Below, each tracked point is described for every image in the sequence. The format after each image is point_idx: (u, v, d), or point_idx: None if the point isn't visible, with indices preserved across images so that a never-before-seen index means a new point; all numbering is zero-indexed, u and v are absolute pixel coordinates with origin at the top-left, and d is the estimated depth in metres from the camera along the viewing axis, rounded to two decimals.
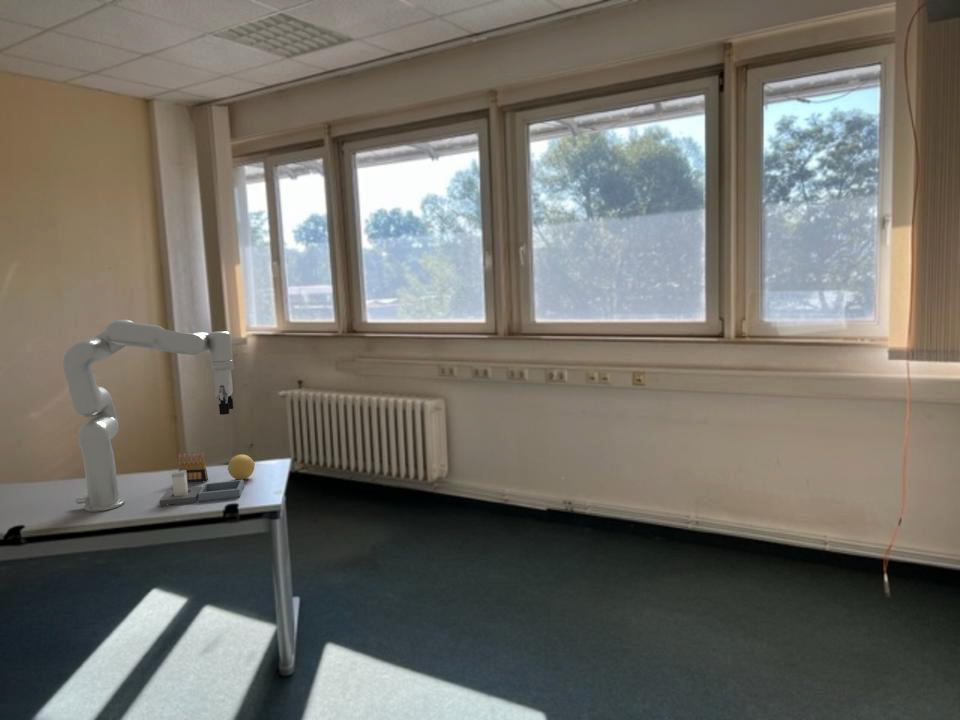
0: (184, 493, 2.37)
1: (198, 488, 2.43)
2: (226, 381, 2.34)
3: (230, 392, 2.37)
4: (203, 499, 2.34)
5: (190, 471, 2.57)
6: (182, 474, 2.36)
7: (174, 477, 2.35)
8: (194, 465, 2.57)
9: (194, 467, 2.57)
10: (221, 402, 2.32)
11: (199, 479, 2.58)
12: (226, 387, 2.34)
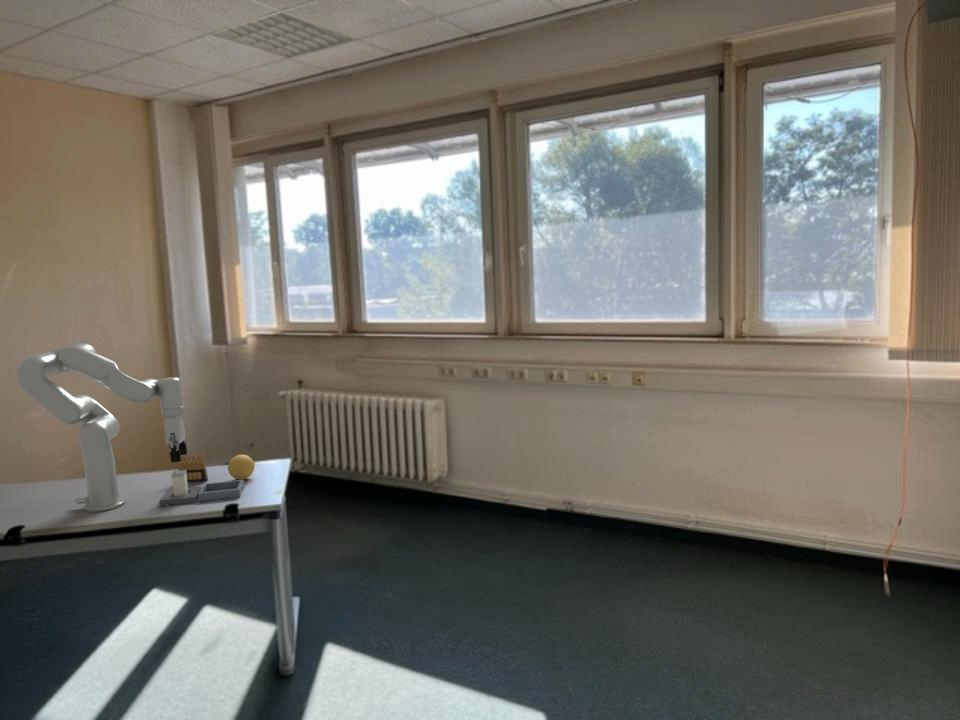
0: (184, 493, 2.37)
1: (198, 488, 2.43)
2: (176, 428, 2.31)
3: (182, 439, 2.34)
4: (203, 499, 2.34)
5: (190, 471, 2.57)
6: (182, 474, 2.36)
7: (174, 477, 2.35)
8: (194, 465, 2.57)
9: (194, 467, 2.57)
10: (172, 450, 2.30)
11: (199, 479, 2.58)
12: (177, 434, 2.31)
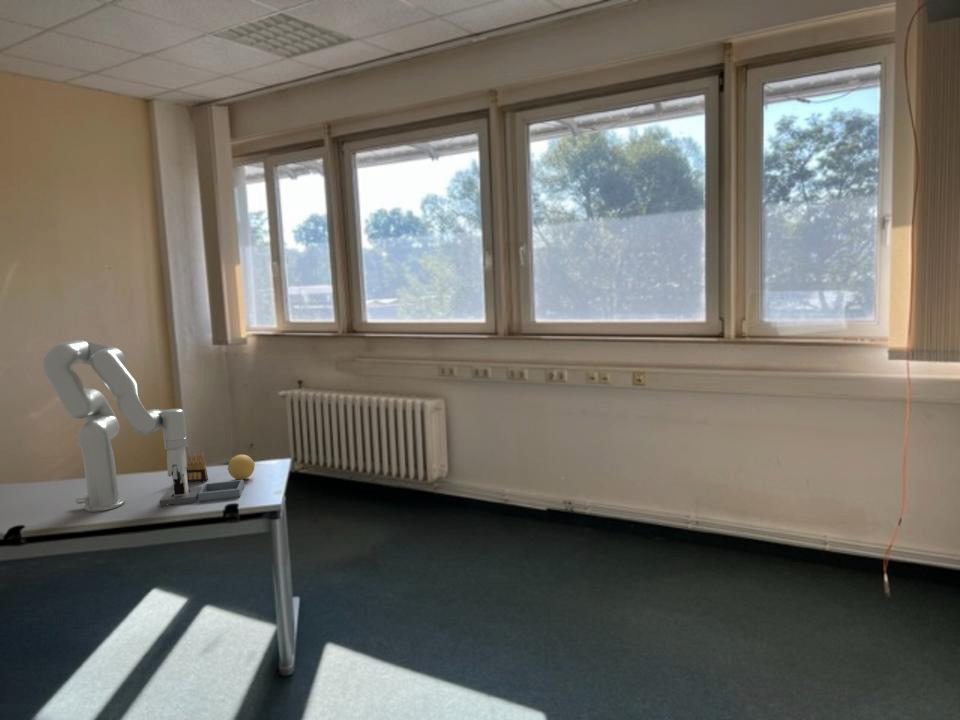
0: (184, 493, 2.37)
1: (198, 488, 2.43)
2: (178, 460, 2.32)
3: (183, 470, 2.36)
4: (203, 499, 2.34)
5: (190, 471, 2.57)
6: None
7: None
8: (194, 465, 2.57)
9: (194, 467, 2.57)
10: (176, 483, 2.34)
11: (199, 479, 2.58)
12: (179, 466, 2.32)
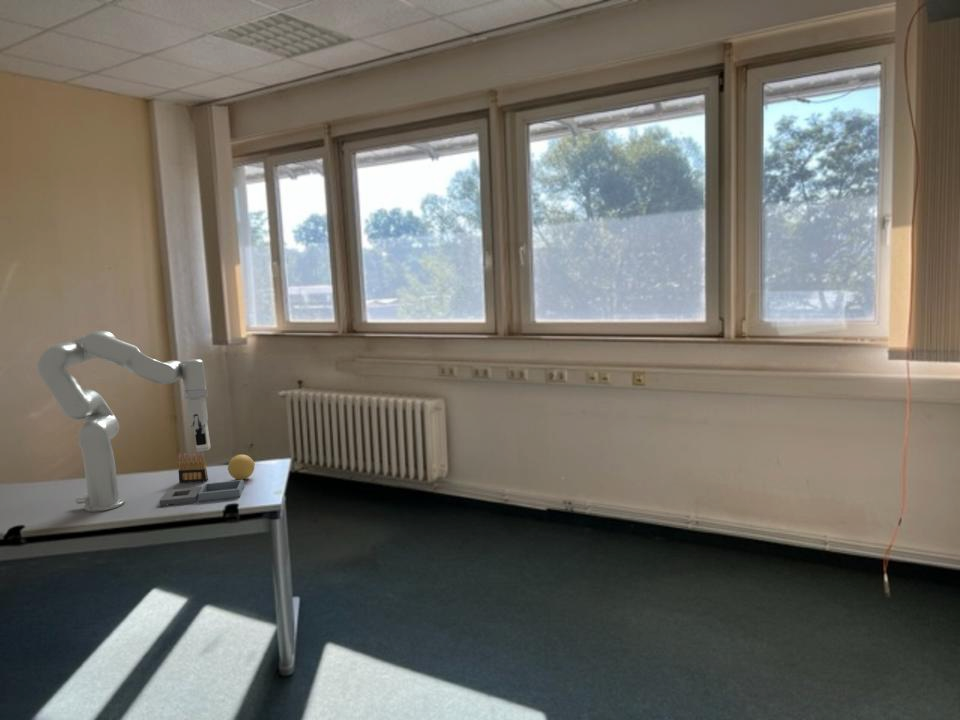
0: (206, 443, 2.36)
1: (198, 488, 2.43)
2: (199, 410, 2.32)
3: (205, 420, 2.35)
4: (203, 499, 2.34)
5: (190, 471, 2.57)
6: None
7: None
8: (194, 465, 2.57)
9: (194, 467, 2.57)
10: (197, 433, 2.33)
11: (199, 479, 2.58)
12: (200, 416, 2.32)
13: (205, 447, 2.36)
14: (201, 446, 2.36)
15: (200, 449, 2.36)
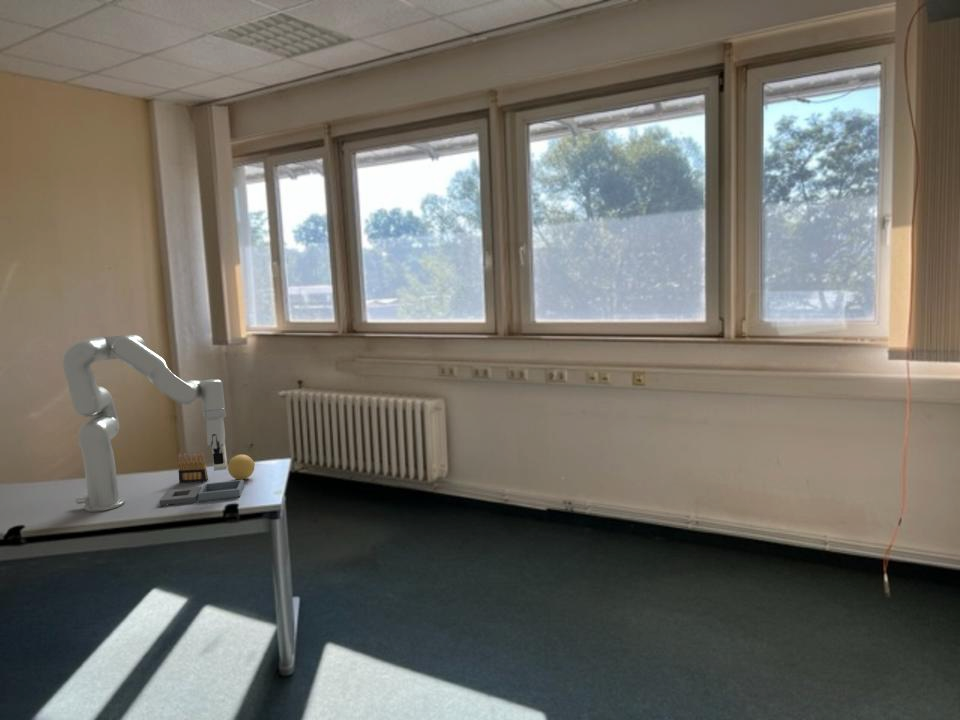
0: (223, 463, 2.38)
1: (198, 488, 2.43)
2: (218, 429, 2.34)
3: (222, 440, 2.37)
4: (203, 499, 2.34)
5: (190, 471, 2.57)
6: (221, 444, 2.37)
7: None
8: (194, 465, 2.57)
9: (194, 467, 2.57)
10: (215, 452, 2.35)
11: (199, 479, 2.58)
12: (218, 436, 2.34)
13: (222, 466, 2.38)
14: (219, 465, 2.38)
15: (217, 468, 2.38)
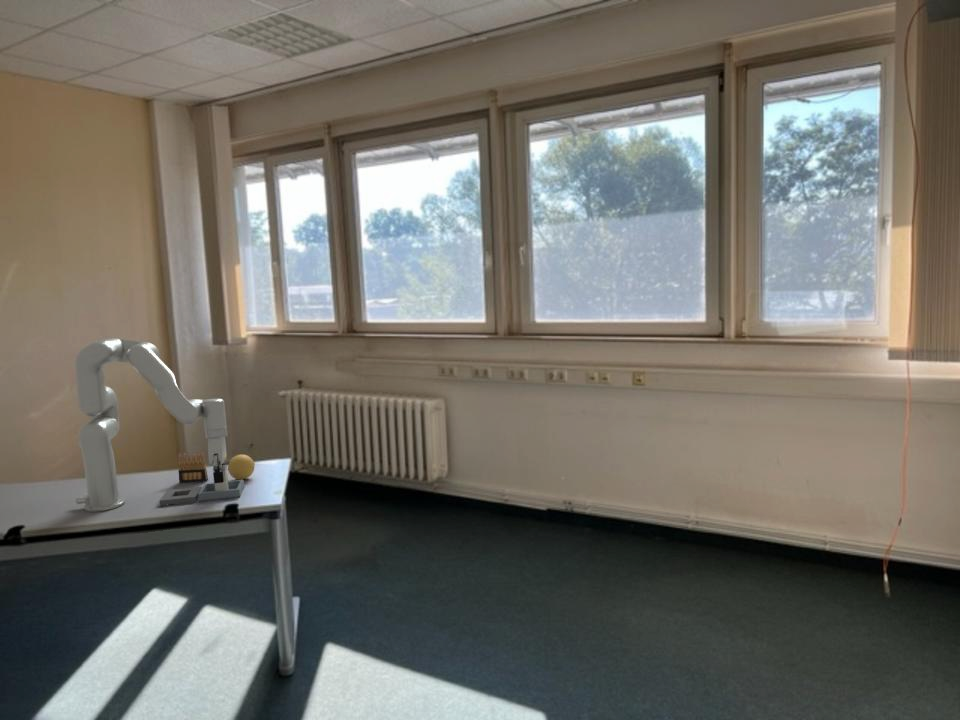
0: (225, 487, 2.39)
1: (198, 488, 2.43)
2: (219, 449, 2.35)
3: (224, 459, 2.38)
4: (203, 499, 2.34)
5: (190, 471, 2.57)
6: (223, 468, 2.39)
7: None
8: (194, 465, 2.57)
9: (194, 467, 2.57)
10: (215, 471, 2.35)
11: (199, 479, 2.58)
12: (220, 455, 2.35)
13: None
14: (220, 490, 2.39)
15: None
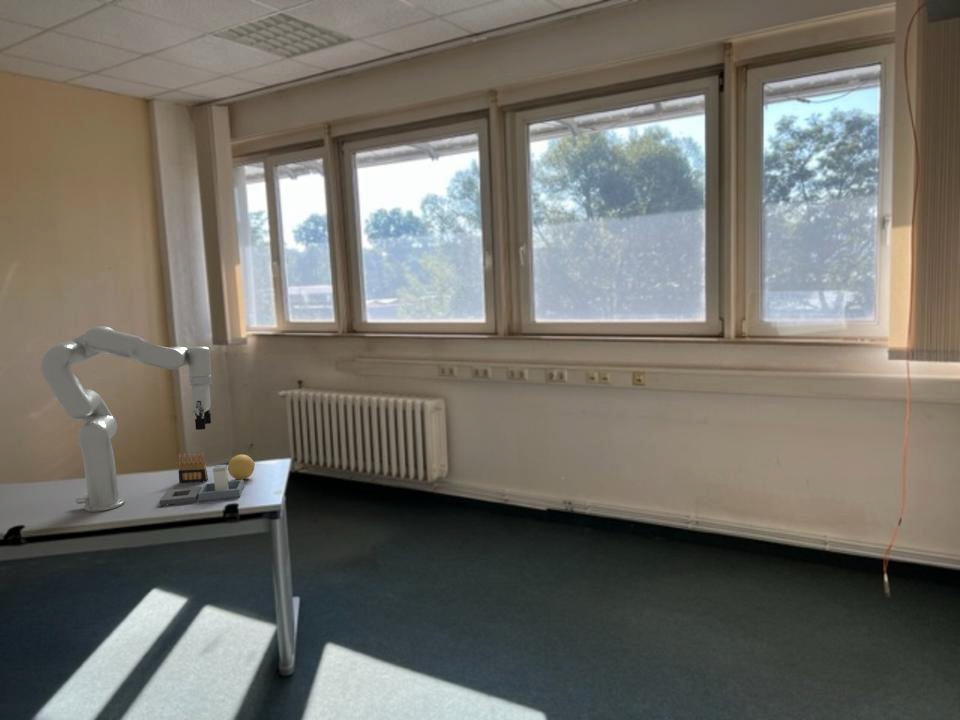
0: (225, 487, 2.39)
1: (198, 488, 2.43)
2: (203, 396, 2.34)
3: (207, 407, 2.38)
4: (203, 499, 2.34)
5: (190, 471, 2.57)
6: (223, 468, 2.39)
7: (216, 471, 2.38)
8: (194, 465, 2.57)
9: (194, 467, 2.57)
10: (197, 417, 2.33)
11: (199, 479, 2.58)
12: (203, 402, 2.34)
13: None
14: (220, 490, 2.39)
15: None
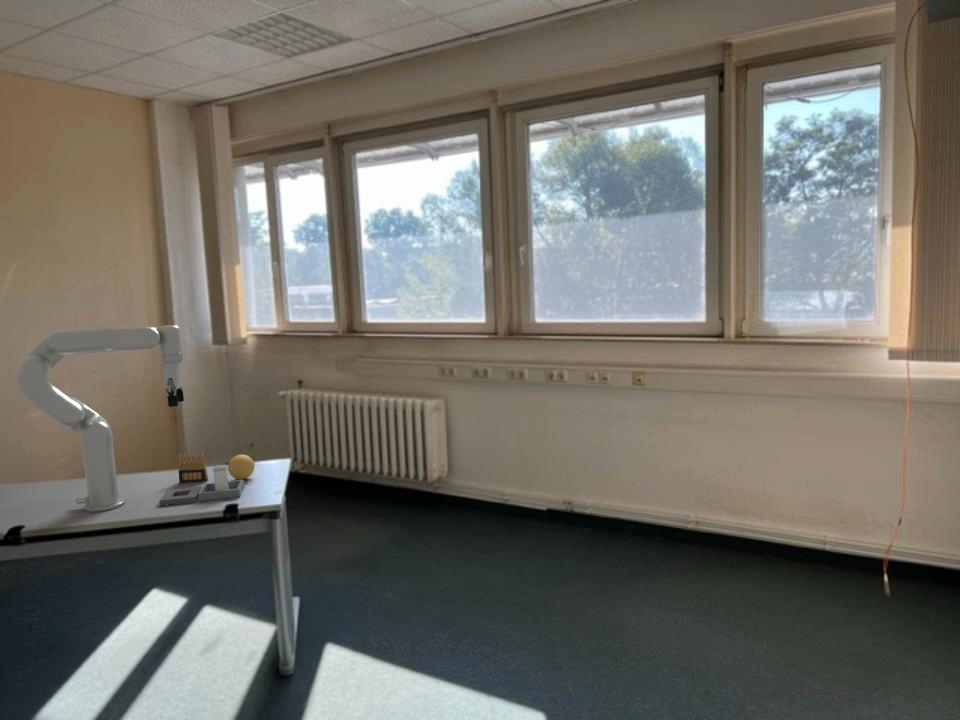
0: (225, 487, 2.39)
1: (198, 488, 2.43)
2: (174, 374, 2.39)
3: (179, 385, 2.42)
4: (203, 499, 2.34)
5: (190, 471, 2.57)
6: (223, 468, 2.39)
7: (216, 471, 2.38)
8: (194, 465, 2.57)
9: (194, 467, 2.57)
10: (169, 394, 2.38)
11: (199, 479, 2.58)
12: (174, 380, 2.39)
13: None
14: (220, 490, 2.39)
15: None
